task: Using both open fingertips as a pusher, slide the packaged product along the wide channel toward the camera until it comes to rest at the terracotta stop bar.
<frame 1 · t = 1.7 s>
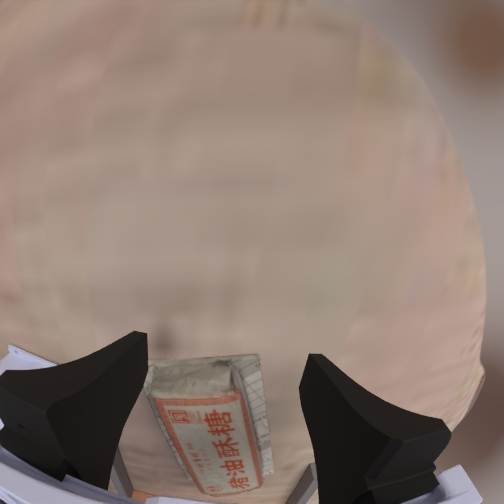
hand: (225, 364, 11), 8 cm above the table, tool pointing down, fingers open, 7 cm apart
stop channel: (209, 486, 25), on the table
packaged product: (216, 425, 23), on the table
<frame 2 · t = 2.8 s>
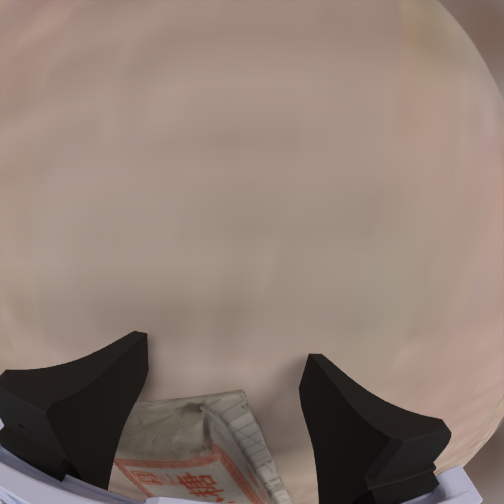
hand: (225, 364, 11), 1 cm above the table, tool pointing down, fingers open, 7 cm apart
packaged product: (212, 469, 16), on the table
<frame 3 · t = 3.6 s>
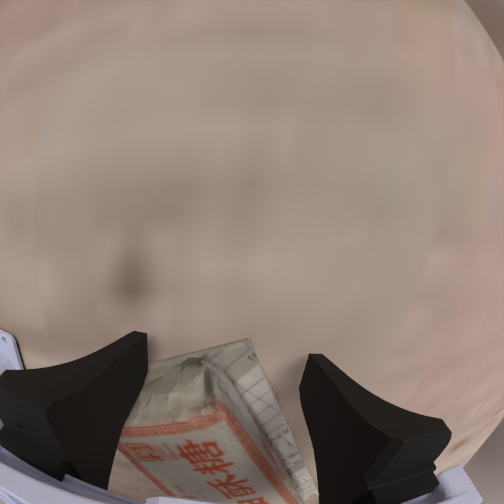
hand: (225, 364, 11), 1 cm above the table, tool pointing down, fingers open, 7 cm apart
packaged product: (224, 449, 15), on the table, touching gripper
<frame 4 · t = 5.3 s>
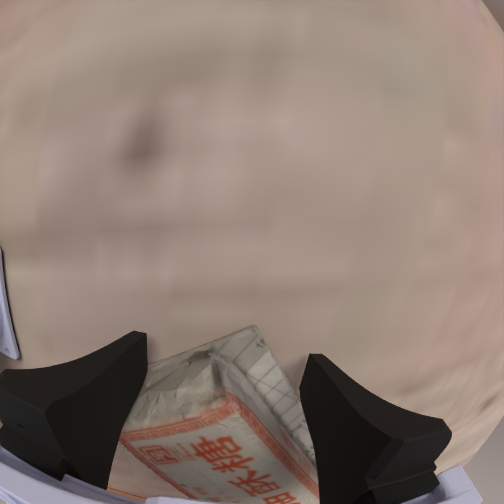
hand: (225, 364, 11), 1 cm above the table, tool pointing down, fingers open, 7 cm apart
packaged product: (245, 446, 15), on the table, touching gripper
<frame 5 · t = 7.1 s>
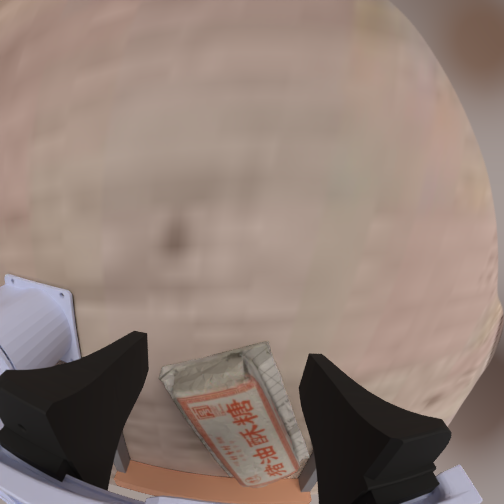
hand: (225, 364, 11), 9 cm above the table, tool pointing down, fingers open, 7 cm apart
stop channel: (216, 448, 25), on the table
packaged product: (244, 417, 24), on the table
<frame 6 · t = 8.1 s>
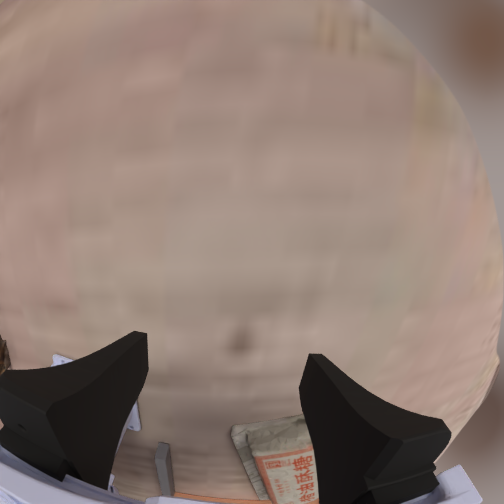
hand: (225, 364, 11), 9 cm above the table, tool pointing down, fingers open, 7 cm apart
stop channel: (256, 481, 27), on the table
packaged product: (286, 457, 26), on the table
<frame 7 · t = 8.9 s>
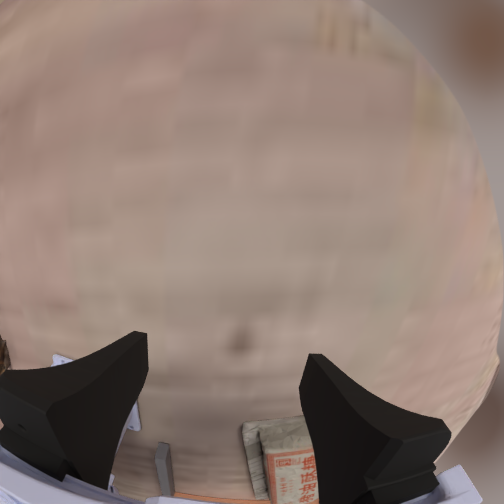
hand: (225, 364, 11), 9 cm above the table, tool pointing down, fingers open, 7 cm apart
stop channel: (256, 481, 27), on the table
packaged product: (289, 457, 26), on the table
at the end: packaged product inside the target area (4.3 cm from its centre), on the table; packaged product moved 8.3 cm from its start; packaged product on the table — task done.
